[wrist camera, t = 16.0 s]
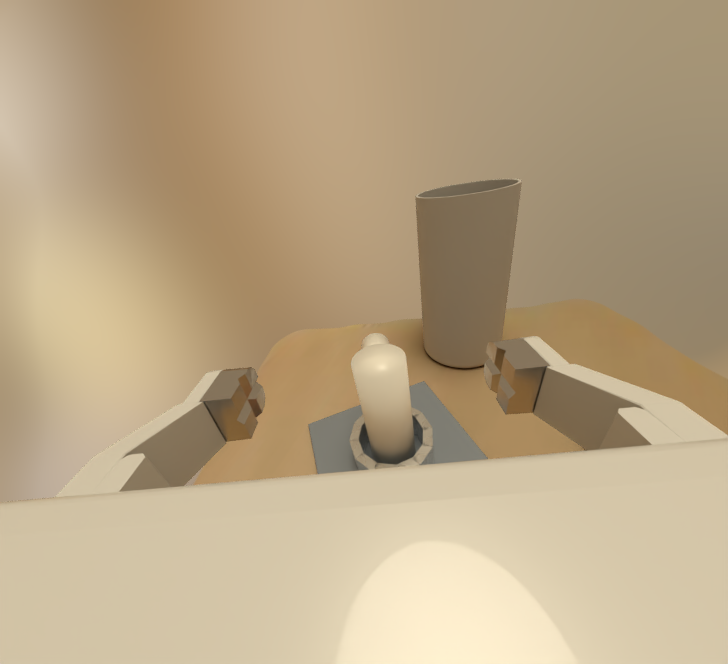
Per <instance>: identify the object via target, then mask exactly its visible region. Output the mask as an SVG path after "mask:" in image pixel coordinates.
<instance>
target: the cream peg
mask: <svg viewBox="0 0 728 664" xmlns="http://www.w3.org/2000/svg"><path fill="white" fill-rule="evenodd" d="M361 346H362V349H361V350H360V351H358V352H357V353H356V354H355V355H354V356H353V358H352V361H351V367H352V371H353V375H354V380H355V384H356V388H357V392H358V396H359V400H360V404H361V408H362V412H363V417H364V421H365V425H366V429H367V433H368V437H369V441H370V445H371V450H372V454H373V458H374V461H375V462H377V463H383V464H394V465H396V464H399V463H401V462H403V461H406V460H408V459H410V458H413V457H414V455H415V454H416V448H415V438H414V429H413V419H412V409H411V400H410V390H409V381H408V371H407V362H406V355H405V353H404V351H403V350H402V349H401V348H399V347H397V346H395V345H391V344H389V340H388V339H387V337H386V336H384V335H382V334H379V333H374V334H370V335H368V336H366V337H365V338H364V340H363V341H362V345H361Z"/></svg>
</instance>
